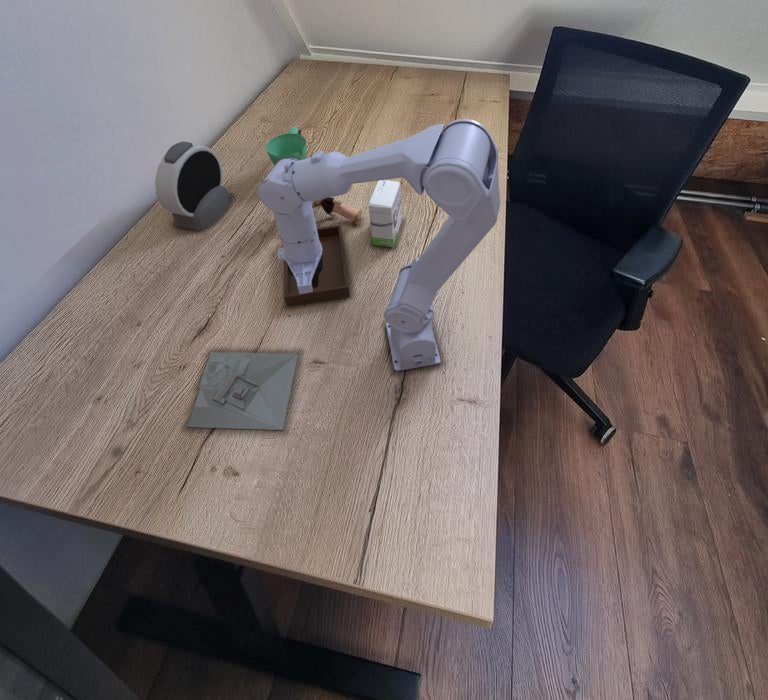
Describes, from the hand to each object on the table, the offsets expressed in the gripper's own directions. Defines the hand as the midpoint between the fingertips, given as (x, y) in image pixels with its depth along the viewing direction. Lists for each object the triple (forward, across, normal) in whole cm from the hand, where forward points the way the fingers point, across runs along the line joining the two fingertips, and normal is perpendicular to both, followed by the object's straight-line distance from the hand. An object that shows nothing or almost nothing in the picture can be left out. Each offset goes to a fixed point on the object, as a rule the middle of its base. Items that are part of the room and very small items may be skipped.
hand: (311, 285), depth 79 cm
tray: (+9, -12, 0) cm, 15 cm away
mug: (+10, -46, -4) cm, 47 cm away
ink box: (+10, -19, +16) cm, 27 cm away
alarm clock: (+10, -35, -26) cm, 45 cm away
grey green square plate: (+10, +13, -18) cm, 24 cm away
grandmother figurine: (+8, -23, +11) cm, 27 cm away
